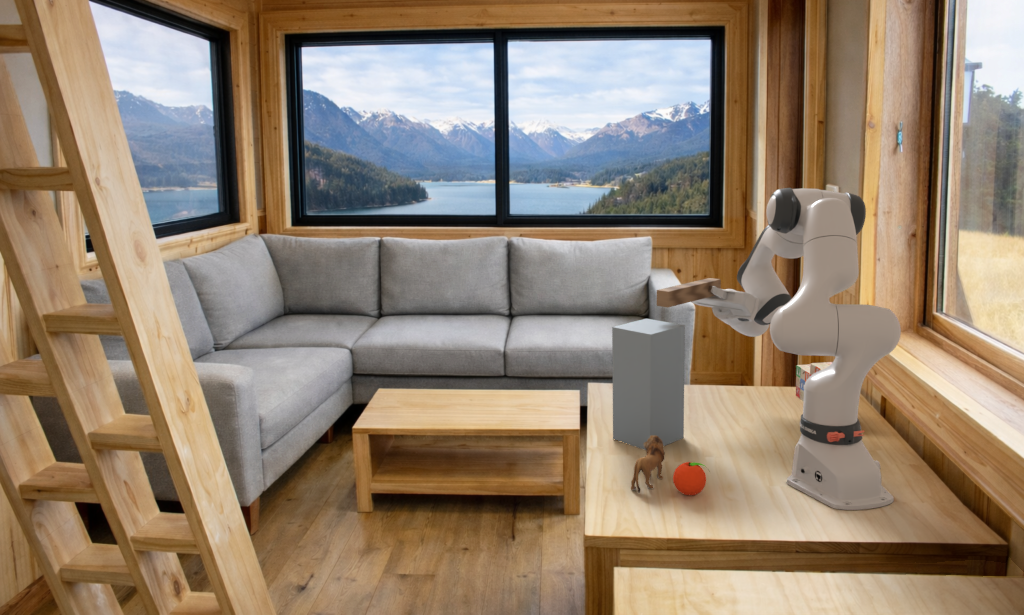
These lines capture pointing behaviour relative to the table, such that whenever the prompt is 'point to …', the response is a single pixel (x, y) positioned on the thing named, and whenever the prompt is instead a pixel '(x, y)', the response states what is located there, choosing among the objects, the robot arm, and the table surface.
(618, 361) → the stand
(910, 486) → the table surface
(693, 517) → the table surface
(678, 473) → the clementine
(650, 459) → the lion figurine
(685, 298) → the bar
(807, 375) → the stack of blocks
